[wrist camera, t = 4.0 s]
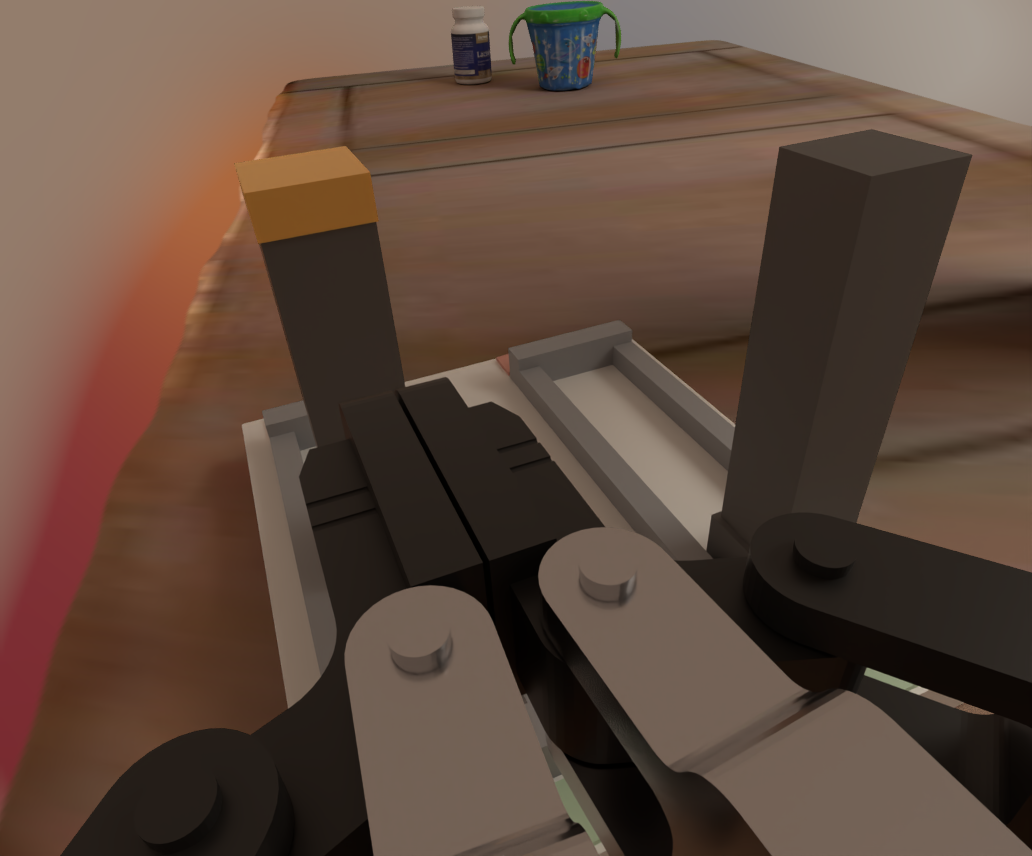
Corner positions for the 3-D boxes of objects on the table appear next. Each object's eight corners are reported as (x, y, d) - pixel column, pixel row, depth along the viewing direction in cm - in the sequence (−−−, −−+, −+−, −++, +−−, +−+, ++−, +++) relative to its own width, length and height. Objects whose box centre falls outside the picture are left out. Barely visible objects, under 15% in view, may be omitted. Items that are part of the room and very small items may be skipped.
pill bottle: (486, 85, 105) (481, 8, 99) (450, 85, 106) (443, 10, 100) (496, 77, 110) (491, 4, 104) (461, 78, 111) (455, 5, 105)
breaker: (336, 539, 24) (227, 162, 17) (419, 513, 25) (350, 144, 18) (354, 601, 22) (237, 196, 14) (445, 570, 23) (378, 173, 15)
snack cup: (505, 96, 97) (500, 11, 91) (518, 81, 106) (514, 3, 100) (617, 93, 95) (619, 6, 89) (621, 78, 103) (624, -2, 97)
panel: (254, 459, 32) (130, 108, 23) (616, 360, 37) (627, 44, 29) (352, 1017, 15) (42, 516, 7) (983, 692, 21) (1280, 178, 12)
